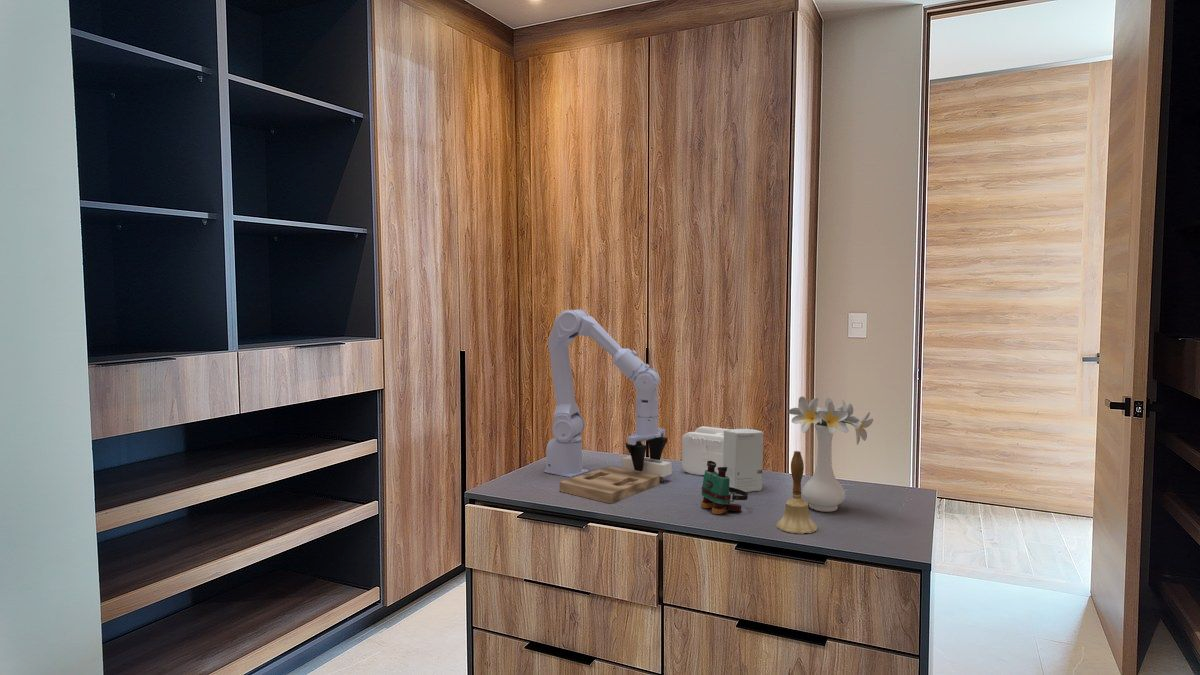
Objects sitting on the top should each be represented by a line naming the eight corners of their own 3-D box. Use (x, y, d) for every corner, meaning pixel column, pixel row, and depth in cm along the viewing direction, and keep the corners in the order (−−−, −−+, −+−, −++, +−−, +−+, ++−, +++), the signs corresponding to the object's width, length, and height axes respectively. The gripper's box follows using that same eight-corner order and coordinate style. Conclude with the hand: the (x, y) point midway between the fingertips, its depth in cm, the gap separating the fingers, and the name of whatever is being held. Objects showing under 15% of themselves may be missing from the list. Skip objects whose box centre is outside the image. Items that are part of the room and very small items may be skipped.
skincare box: (734, 494, 171) (735, 433, 170) (721, 487, 176) (722, 429, 175) (763, 490, 174) (764, 431, 173) (749, 484, 179) (750, 426, 179)
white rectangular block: (621, 475, 187) (622, 457, 186) (630, 472, 190) (630, 454, 190) (663, 484, 179) (663, 464, 178) (671, 480, 182) (671, 461, 182)
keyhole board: (609, 475, 188) (609, 466, 188) (659, 485, 178) (659, 476, 178) (559, 491, 172) (559, 481, 172) (611, 503, 163) (611, 493, 162)
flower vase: (863, 522, 150) (867, 406, 148) (778, 508, 159) (780, 399, 157) (874, 507, 161) (877, 398, 159) (793, 494, 170) (796, 392, 169)
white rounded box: (747, 473, 191) (748, 431, 190) (732, 482, 182) (733, 437, 181) (696, 466, 199) (697, 425, 198) (679, 474, 190) (680, 431, 189)
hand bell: (771, 529, 145) (772, 453, 144) (782, 518, 152) (784, 445, 151) (811, 537, 141) (813, 458, 140) (821, 525, 148) (823, 450, 147)
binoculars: (756, 468, 157) (718, 468, 153) (752, 515, 157) (713, 516, 153) (734, 459, 165) (697, 459, 161) (729, 504, 165) (692, 504, 161)
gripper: (643, 421, 175) (643, 475, 176) (675, 413, 187) (674, 464, 187) (621, 418, 179) (620, 471, 180) (652, 411, 191) (652, 460, 192)
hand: (646, 467), depth 184 cm, fingers open, 7 cm apart
